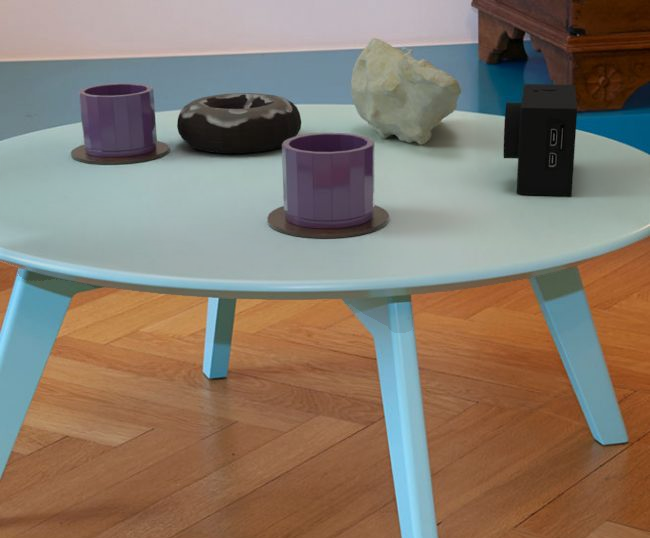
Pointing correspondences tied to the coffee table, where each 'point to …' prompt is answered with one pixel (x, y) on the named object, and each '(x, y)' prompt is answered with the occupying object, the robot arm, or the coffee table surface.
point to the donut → (238, 122)
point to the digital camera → (542, 138)
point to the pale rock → (401, 92)
